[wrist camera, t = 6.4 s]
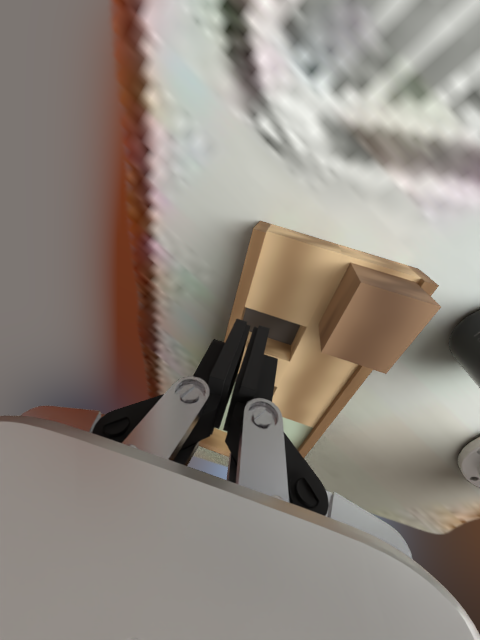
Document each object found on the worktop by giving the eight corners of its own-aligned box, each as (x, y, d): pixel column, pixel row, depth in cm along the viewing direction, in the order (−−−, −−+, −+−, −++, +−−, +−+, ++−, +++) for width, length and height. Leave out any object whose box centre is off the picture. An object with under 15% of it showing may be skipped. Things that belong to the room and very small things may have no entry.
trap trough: (418, 269, 20) (452, 297, 16) (297, 442, 36) (296, 481, 31) (260, 220, 21) (248, 234, 16) (208, 410, 36) (195, 444, 32)
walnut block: (415, 282, 18) (441, 306, 15) (373, 342, 21) (386, 373, 18) (350, 262, 18) (361, 282, 15) (318, 324, 22) (321, 352, 18)
